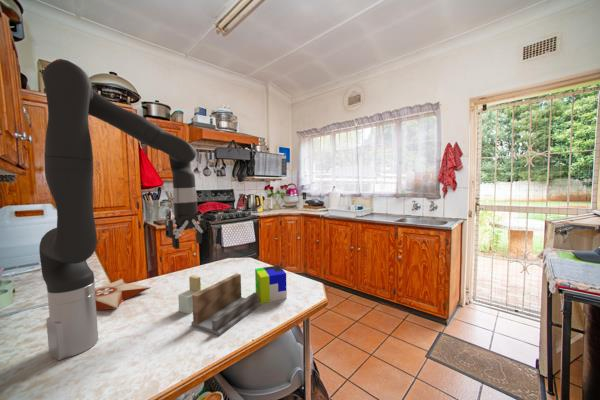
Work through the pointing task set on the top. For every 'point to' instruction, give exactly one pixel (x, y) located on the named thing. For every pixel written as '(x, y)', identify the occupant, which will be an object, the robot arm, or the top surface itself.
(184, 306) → the wide pale green cuboid
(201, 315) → the board
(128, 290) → the decorative star
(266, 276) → the puzzle toy
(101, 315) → the top surface
